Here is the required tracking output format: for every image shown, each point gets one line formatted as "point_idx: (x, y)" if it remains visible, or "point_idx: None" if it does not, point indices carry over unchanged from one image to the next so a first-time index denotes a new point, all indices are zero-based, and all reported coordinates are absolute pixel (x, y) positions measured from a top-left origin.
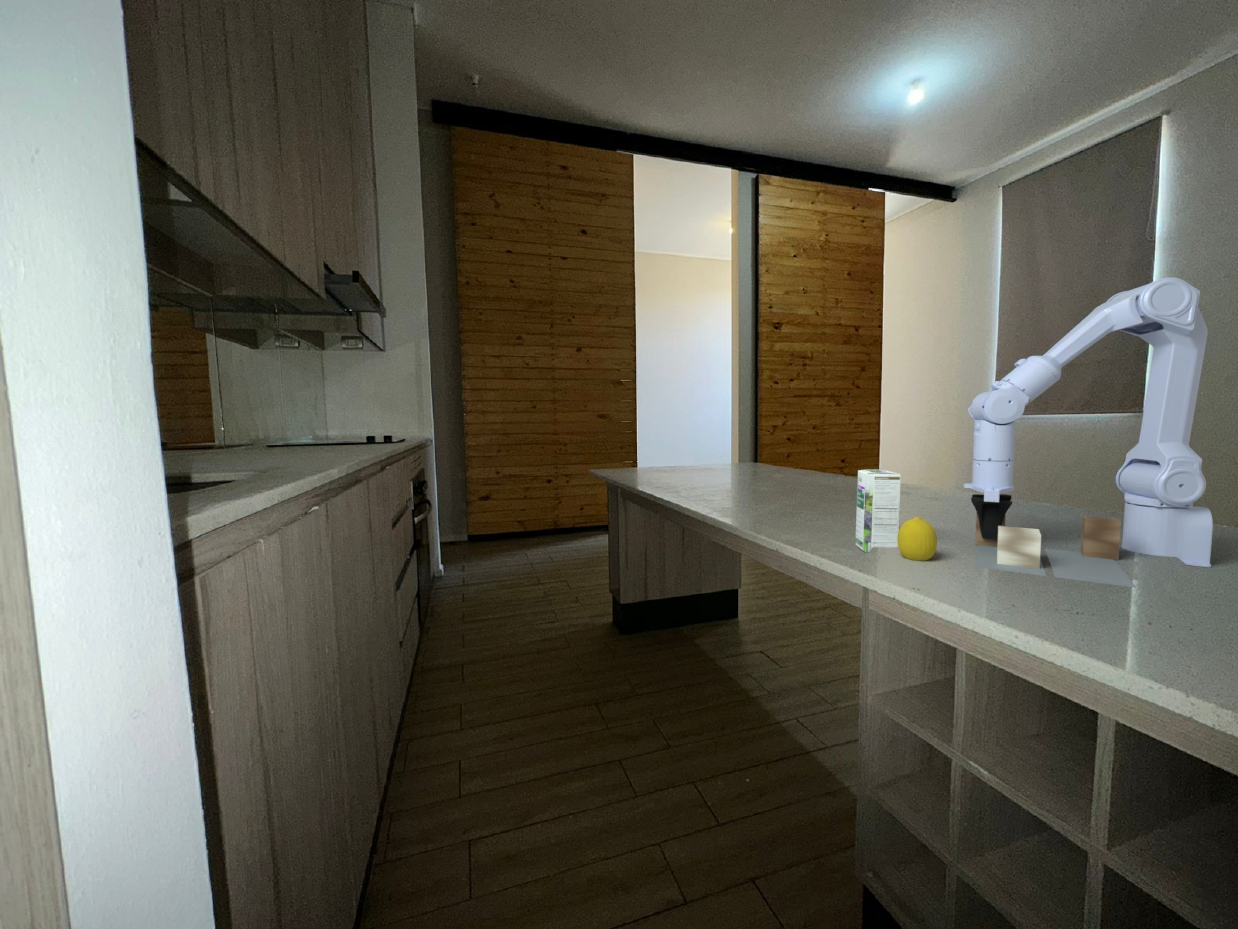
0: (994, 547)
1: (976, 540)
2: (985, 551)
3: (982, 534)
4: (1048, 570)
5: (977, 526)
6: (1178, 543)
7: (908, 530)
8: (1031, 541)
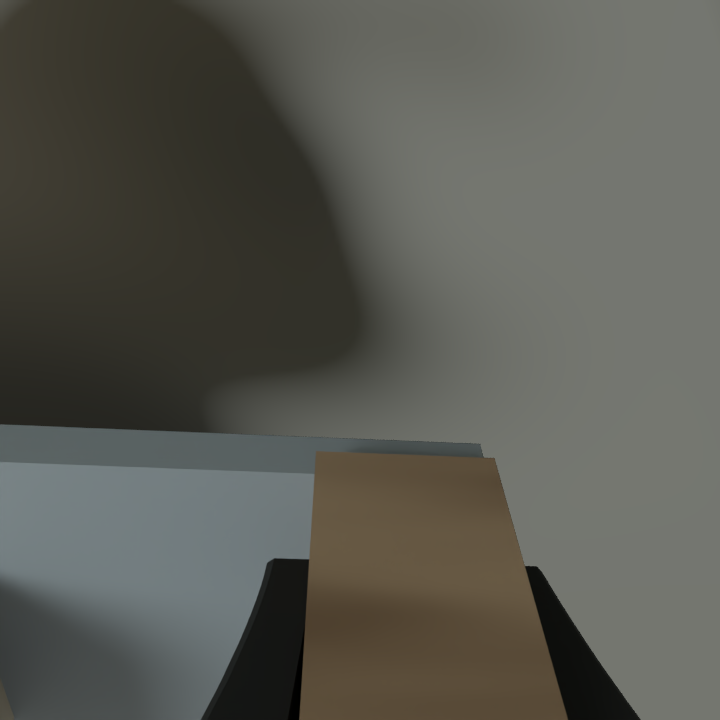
0: None
1: (316, 491)
2: (72, 507)
3: (260, 594)
4: None
5: (305, 633)
6: None
7: None
8: None
